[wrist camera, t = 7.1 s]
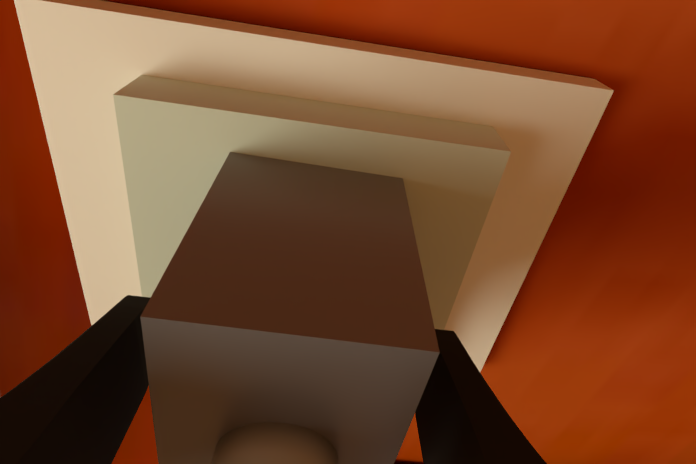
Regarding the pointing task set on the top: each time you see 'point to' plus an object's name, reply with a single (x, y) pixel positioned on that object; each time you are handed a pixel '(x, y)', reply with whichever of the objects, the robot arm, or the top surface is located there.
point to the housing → (290, 321)
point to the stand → (299, 142)
